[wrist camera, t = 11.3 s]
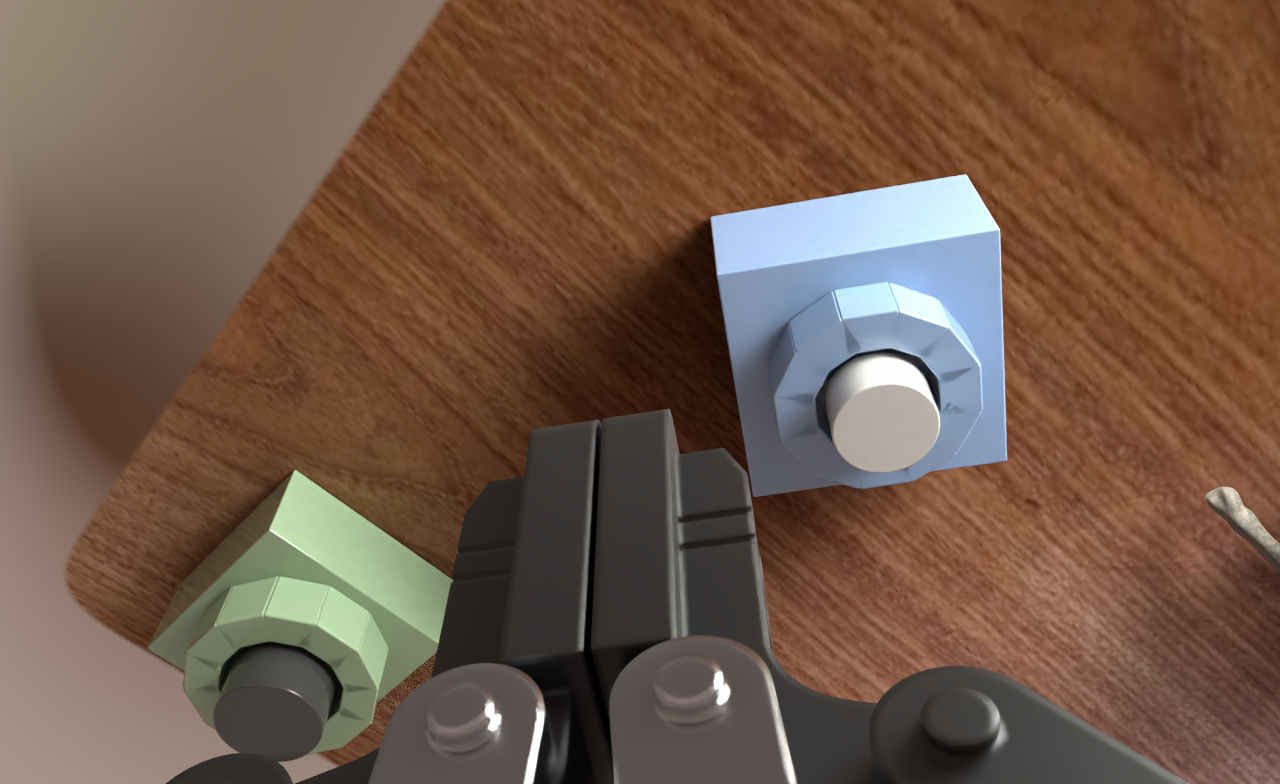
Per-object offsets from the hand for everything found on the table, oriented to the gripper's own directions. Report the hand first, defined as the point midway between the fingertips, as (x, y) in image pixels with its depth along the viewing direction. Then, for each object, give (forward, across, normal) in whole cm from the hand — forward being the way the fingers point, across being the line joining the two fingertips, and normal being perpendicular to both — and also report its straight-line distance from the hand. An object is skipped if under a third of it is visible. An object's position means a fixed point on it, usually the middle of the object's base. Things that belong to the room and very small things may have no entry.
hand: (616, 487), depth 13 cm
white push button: (+19, -5, +12) cm, 23 cm away
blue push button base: (+25, -5, +12) cm, 28 cm away
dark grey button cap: (+20, +16, +20) cm, 32 cm away
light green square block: (+25, +16, +20) cm, 36 cm away
